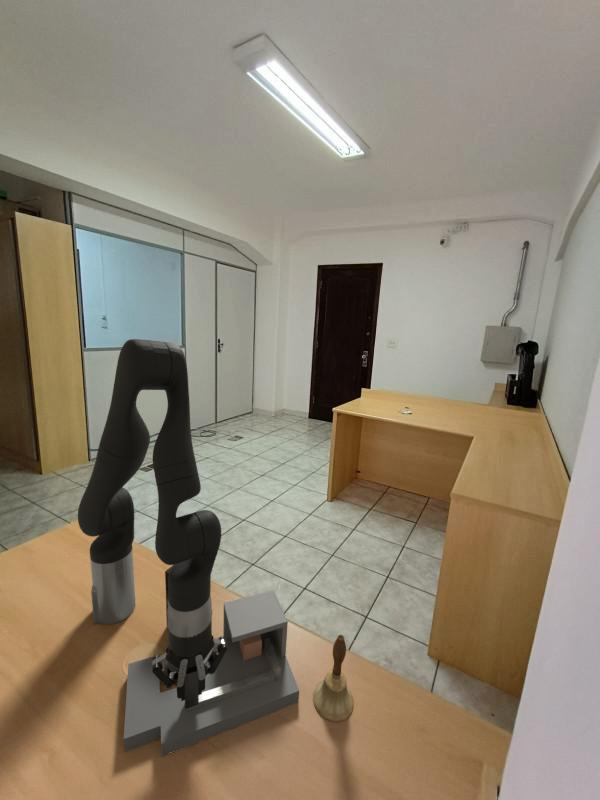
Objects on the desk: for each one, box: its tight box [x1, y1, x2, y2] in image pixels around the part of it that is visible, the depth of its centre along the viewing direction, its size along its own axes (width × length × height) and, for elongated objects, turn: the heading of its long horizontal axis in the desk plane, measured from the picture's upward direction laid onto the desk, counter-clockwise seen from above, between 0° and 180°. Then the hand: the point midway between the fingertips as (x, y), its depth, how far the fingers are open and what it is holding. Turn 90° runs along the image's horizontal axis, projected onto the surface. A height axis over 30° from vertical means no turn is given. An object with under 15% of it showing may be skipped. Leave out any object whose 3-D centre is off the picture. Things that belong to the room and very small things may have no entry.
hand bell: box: [313, 634, 355, 723], centre depth 70 cm, size 8×8×16 cm
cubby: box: [123, 589, 300, 757], centre depth 72 cm, size 32×18×12 cm, turn 113°
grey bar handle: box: [184, 638, 281, 712], centre depth 71 cm, size 19×8×9 cm, turn 112°
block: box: [240, 634, 262, 660], centre depth 78 cm, size 4×4×4 cm
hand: (191, 692), depth 66 cm, fingers closed on grey bar handle, 2 cm apart
